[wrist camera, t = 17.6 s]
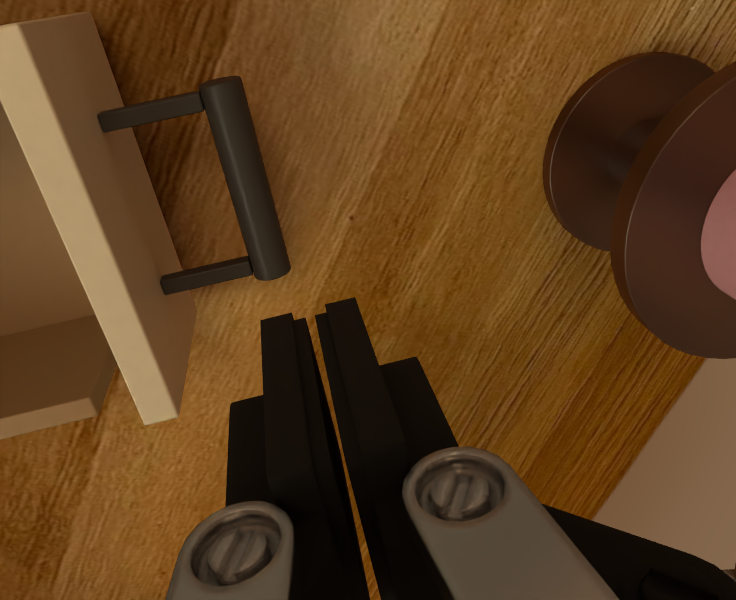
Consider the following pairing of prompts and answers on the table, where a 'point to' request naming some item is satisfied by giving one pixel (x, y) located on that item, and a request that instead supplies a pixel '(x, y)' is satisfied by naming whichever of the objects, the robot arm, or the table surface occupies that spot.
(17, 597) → the table surface
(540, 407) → the table surface
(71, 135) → the drawer
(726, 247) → the pink cylinder
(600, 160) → the stand
